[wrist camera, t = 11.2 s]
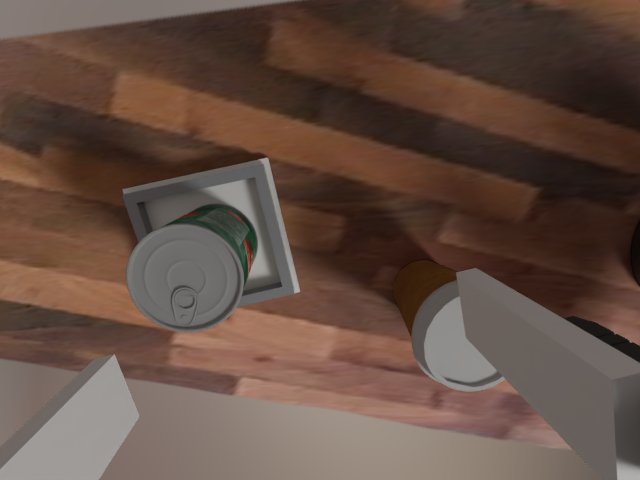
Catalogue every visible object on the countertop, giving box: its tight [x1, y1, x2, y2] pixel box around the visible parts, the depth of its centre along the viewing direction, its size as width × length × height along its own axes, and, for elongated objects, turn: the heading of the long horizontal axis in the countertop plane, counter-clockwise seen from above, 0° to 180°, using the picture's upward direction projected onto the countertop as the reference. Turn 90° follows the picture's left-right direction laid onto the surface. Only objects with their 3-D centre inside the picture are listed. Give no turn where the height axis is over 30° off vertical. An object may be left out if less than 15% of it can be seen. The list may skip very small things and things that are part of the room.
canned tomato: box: [126, 204, 258, 332], centre depth 29 cm, size 8×8×11 cm
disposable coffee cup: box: [393, 260, 505, 391], centre depth 32 cm, size 10×10×12 cm
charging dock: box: [122, 158, 300, 307], centre depth 34 cm, size 14×14×2 cm
